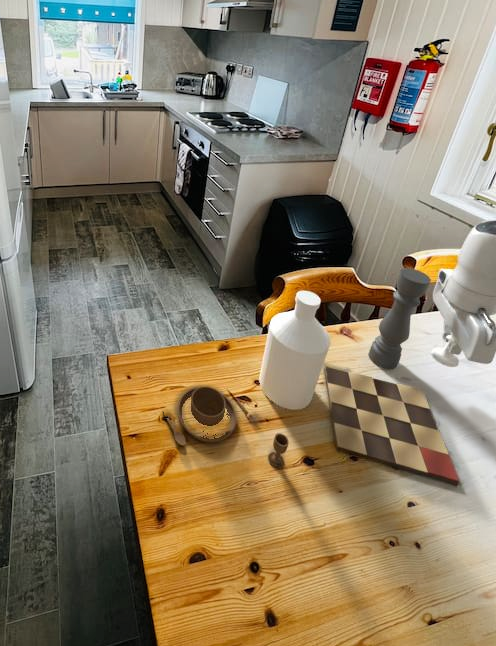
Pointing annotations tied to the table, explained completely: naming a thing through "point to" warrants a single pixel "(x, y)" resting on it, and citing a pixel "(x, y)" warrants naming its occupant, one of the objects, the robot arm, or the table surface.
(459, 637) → the table surface
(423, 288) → the candle holder
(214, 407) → the place setting
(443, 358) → the chess piece
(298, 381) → the bottle
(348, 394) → the board
